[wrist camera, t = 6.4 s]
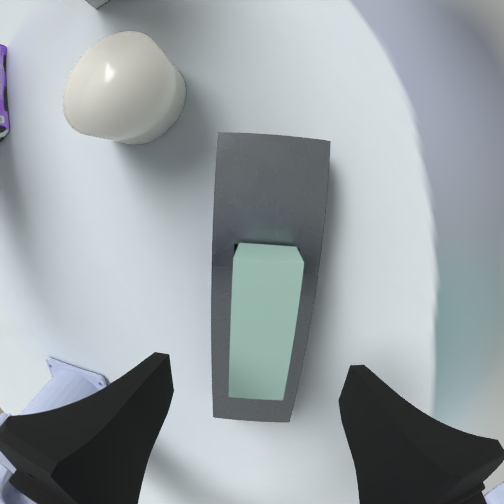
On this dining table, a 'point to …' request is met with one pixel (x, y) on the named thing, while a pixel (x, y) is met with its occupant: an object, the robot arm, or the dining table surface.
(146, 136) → the white dome cap
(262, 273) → the green toy bench
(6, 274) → the dining table surface
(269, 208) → the rail
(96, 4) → the coffee box
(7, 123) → the candy box
